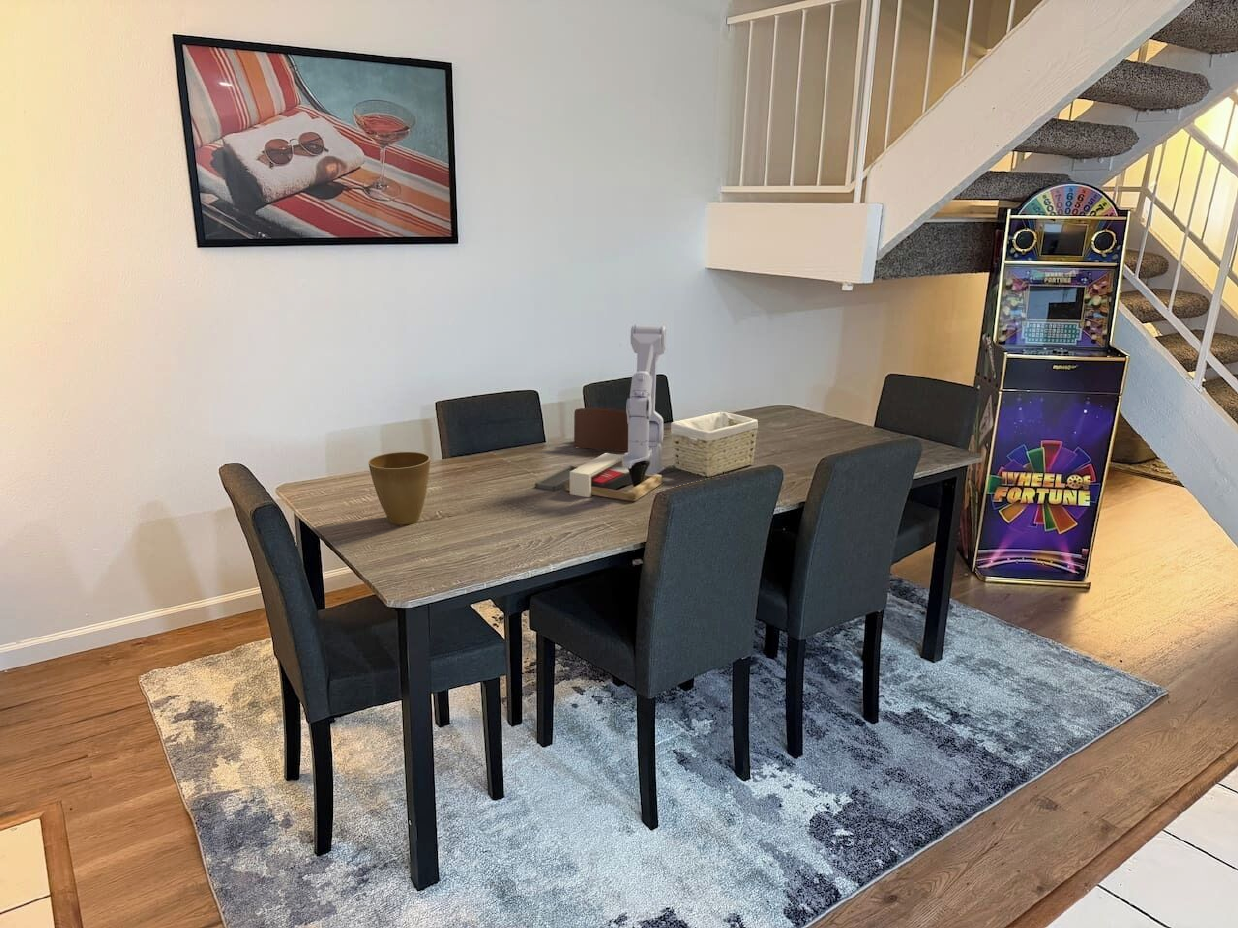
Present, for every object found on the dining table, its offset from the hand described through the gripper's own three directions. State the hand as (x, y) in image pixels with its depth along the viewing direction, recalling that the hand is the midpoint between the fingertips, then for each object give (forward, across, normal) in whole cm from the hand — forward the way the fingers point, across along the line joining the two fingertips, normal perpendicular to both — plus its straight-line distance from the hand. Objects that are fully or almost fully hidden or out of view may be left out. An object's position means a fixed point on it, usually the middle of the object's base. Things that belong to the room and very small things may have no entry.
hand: (637, 486), depth 246 cm
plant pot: (+2, +49, -42) cm, 65 cm away
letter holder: (+2, -40, -30) cm, 50 cm away
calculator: (+1, 0, -11) cm, 11 cm away
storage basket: (+2, -34, +10) cm, 35 cm away
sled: (+1, 0, -7) cm, 7 cm away
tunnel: (+1, 0, -18) cm, 18 cm away
